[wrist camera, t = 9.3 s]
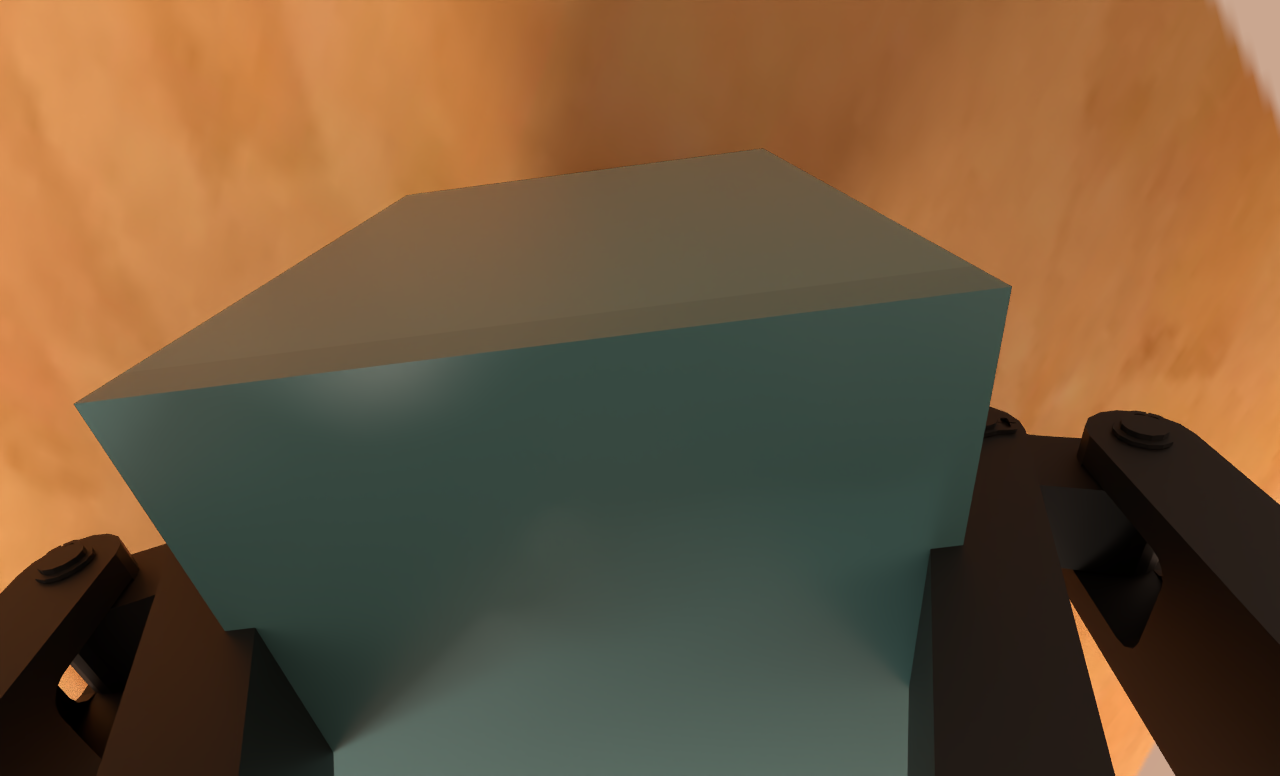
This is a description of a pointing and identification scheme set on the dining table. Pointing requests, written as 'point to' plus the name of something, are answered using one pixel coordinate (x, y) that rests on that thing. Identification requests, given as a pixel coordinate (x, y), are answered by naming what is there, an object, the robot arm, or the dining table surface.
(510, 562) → the teal block
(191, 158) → the dining table surface
